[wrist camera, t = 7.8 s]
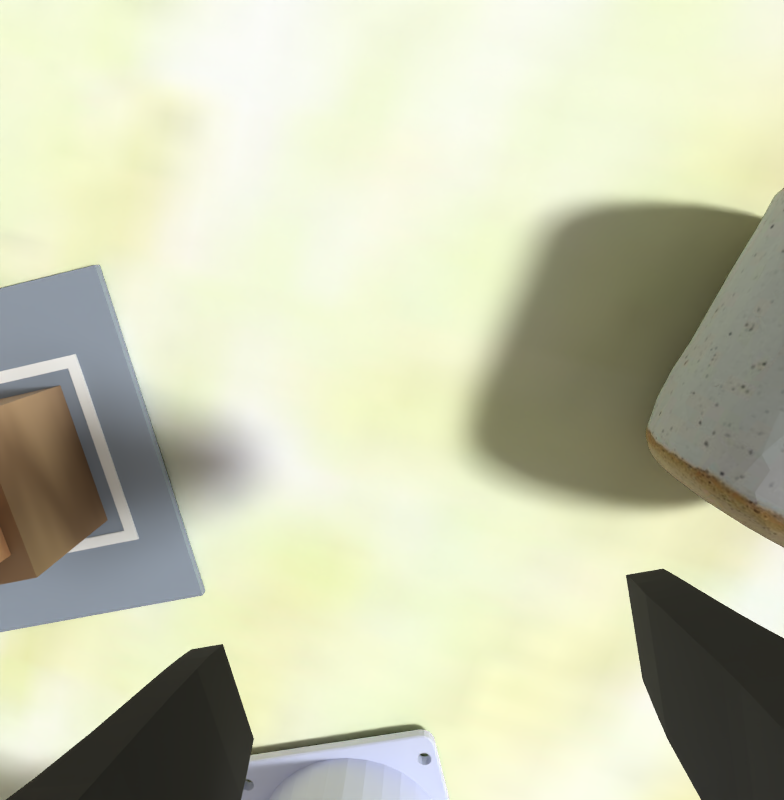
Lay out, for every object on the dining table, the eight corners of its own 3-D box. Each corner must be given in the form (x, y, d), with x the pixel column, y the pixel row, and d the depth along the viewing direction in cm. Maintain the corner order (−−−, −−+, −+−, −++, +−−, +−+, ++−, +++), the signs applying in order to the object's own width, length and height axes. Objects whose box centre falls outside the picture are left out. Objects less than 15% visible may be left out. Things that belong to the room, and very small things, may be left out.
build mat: (205, 591, 22) (201, 596, 22) (-39, 635, 23) (-47, 641, 23) (99, 264, 20) (94, 265, 19) (-169, 331, 21) (-179, 332, 20)
